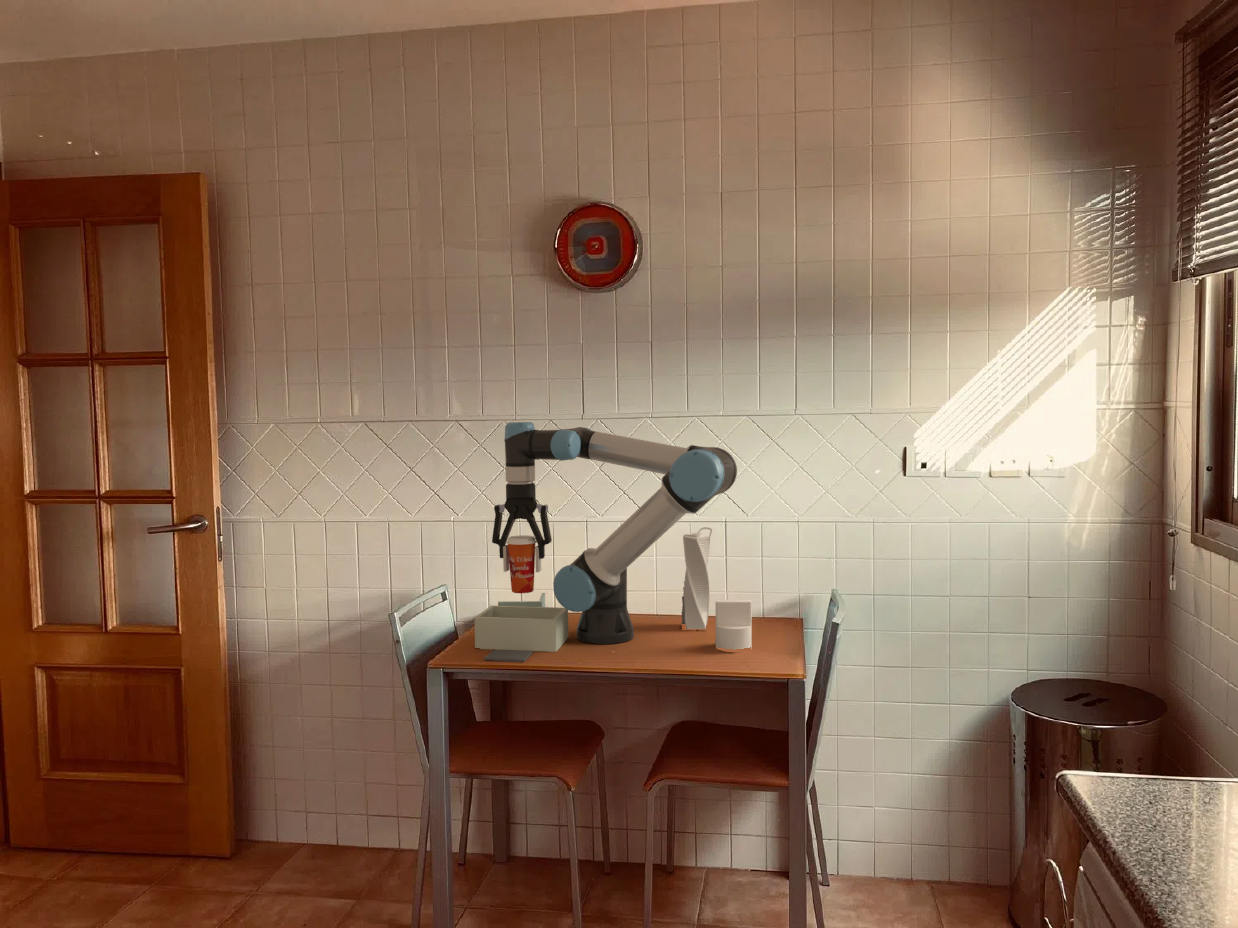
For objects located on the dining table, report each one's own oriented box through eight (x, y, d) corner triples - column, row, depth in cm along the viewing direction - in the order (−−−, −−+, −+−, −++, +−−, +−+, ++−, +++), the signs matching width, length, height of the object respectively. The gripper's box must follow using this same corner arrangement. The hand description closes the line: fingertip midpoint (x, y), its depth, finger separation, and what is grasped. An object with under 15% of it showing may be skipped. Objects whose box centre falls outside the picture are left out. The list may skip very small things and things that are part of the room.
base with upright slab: (716, 652, 239) (716, 604, 238) (714, 643, 248) (714, 597, 247) (753, 652, 239) (753, 604, 238) (749, 643, 248) (749, 597, 247)
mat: (532, 653, 240) (532, 650, 240) (524, 662, 232) (524, 659, 232) (493, 651, 242) (493, 649, 242) (484, 660, 234) (483, 657, 234)
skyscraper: (711, 625, 268) (711, 525, 266) (712, 633, 260) (712, 529, 258) (681, 625, 268) (681, 525, 266) (680, 632, 260) (680, 529, 258)
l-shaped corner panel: (545, 618, 277) (545, 592, 276) (542, 628, 265) (541, 601, 264) (503, 618, 277) (503, 593, 276) (498, 629, 265) (497, 602, 264)
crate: (568, 637, 255) (568, 607, 254) (556, 651, 241) (555, 620, 240) (491, 634, 258) (491, 605, 258) (475, 648, 244) (474, 617, 244)
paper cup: (504, 594, 245) (503, 539, 244) (511, 587, 253) (510, 534, 252) (534, 594, 244) (533, 539, 243) (540, 588, 252) (539, 534, 251)
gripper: (563, 481, 248) (565, 568, 250) (486, 481, 252) (488, 567, 253) (556, 484, 241) (558, 574, 243) (477, 483, 244) (479, 572, 246)
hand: (522, 570), depth 248 cm, fingers closed on paper cup, 8 cm apart
